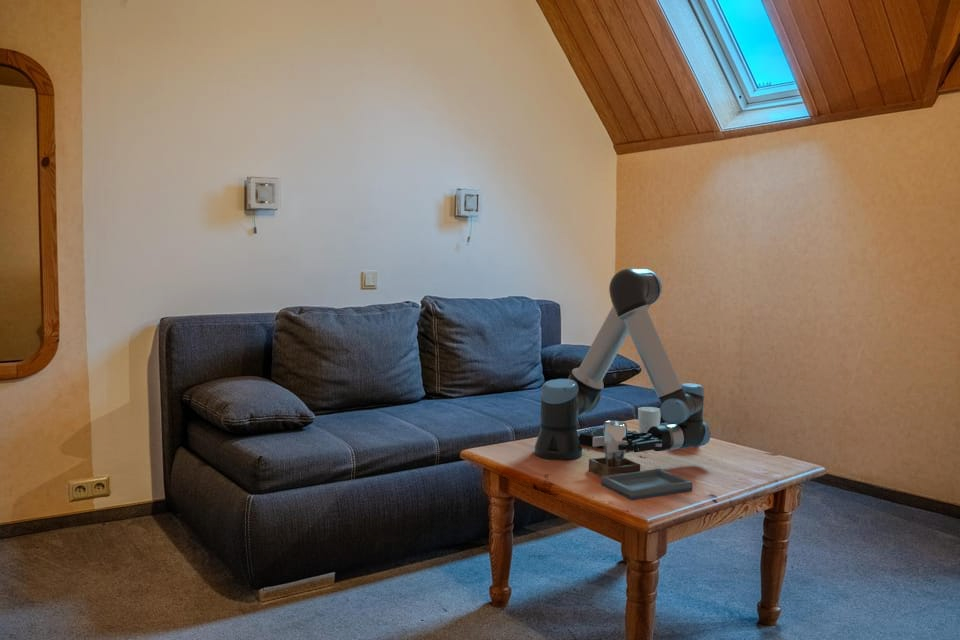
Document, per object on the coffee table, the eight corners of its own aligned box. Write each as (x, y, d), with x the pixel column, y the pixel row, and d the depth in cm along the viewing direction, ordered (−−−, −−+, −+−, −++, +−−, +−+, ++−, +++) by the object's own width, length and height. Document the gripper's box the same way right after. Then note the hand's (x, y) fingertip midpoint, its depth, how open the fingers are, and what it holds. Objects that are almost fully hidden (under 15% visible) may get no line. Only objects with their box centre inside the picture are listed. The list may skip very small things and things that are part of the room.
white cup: (658, 434, 267) (659, 407, 266) (661, 439, 259) (662, 411, 258) (636, 433, 268) (636, 406, 267) (638, 439, 260) (639, 410, 259)
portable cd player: (606, 437, 264) (607, 426, 264) (648, 446, 252) (648, 434, 252) (577, 444, 253) (578, 433, 252) (619, 454, 241) (620, 442, 240)
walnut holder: (588, 470, 220) (589, 459, 220) (618, 466, 225) (618, 455, 224) (609, 480, 211) (609, 468, 210) (639, 476, 215) (640, 464, 215)
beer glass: (597, 471, 219) (598, 421, 218) (616, 469, 222) (618, 419, 221) (611, 478, 213) (612, 426, 212) (631, 475, 216) (632, 424, 215)
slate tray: (601, 485, 206) (601, 476, 206) (659, 477, 215) (659, 468, 214) (631, 500, 194) (631, 491, 193) (691, 491, 202) (692, 482, 202)
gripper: (685, 457, 216) (620, 466, 206) (643, 442, 234) (581, 449, 224) (686, 432, 215) (620, 439, 206) (644, 418, 233) (582, 425, 223)
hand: (600, 444), depth 215 cm, fingers closed on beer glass, 7 cm apart
